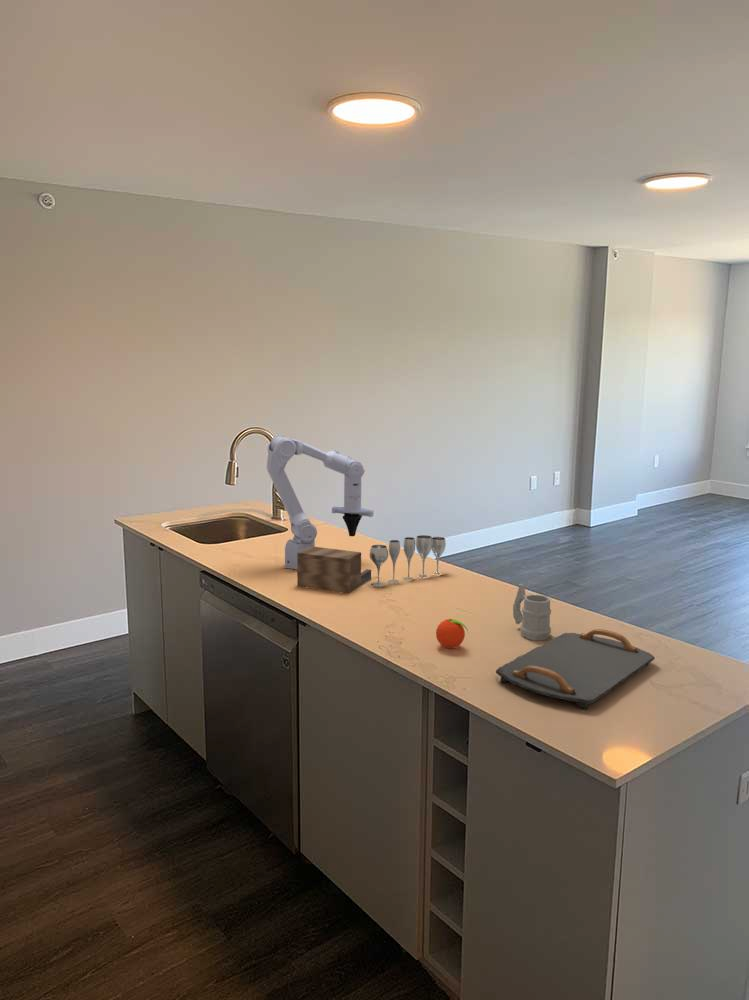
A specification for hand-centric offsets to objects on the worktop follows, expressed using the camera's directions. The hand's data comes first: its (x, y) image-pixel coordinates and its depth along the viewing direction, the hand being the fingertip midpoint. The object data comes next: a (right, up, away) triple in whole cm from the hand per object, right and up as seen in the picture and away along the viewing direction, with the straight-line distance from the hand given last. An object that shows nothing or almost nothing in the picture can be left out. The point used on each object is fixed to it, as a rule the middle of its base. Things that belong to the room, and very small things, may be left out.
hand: (352, 535), depth 258 cm
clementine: (+26, -24, -73) cm, 81 cm away
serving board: (+53, -27, -87) cm, 105 cm away
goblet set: (+18, -13, -16) cm, 28 cm away
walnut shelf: (-4, -13, -21) cm, 25 cm away
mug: (+47, -22, -63) cm, 81 cm away
